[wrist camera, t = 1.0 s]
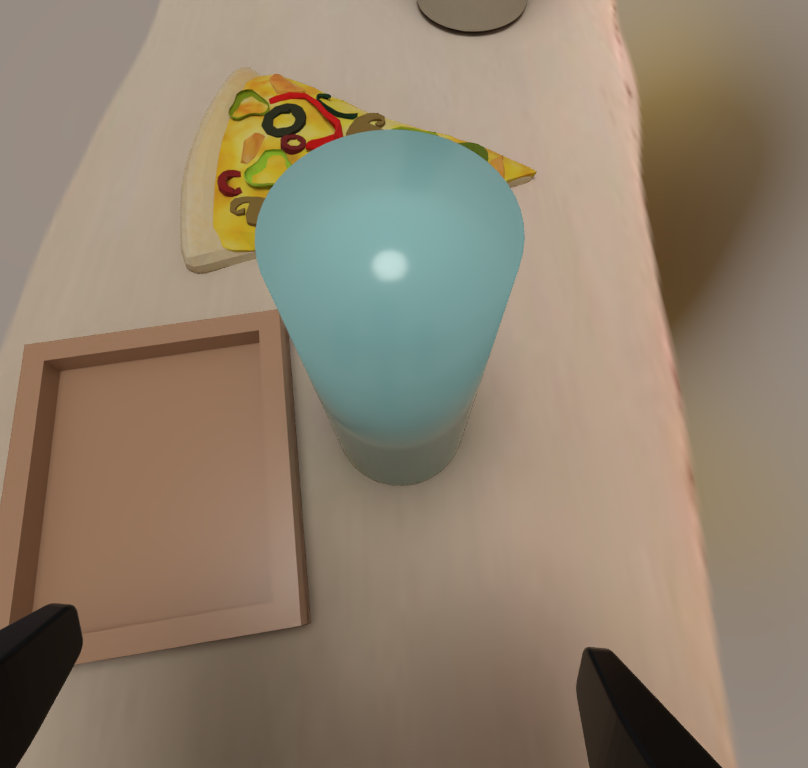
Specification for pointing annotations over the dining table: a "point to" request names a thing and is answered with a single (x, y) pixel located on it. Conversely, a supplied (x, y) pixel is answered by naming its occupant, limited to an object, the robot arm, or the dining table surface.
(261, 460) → the tray
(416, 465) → the teal rounded cylinder
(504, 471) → the dining table surface
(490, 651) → the dining table surface
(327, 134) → the pizza slice
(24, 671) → the robot arm
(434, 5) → the travel mug
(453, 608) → the dining table surface
